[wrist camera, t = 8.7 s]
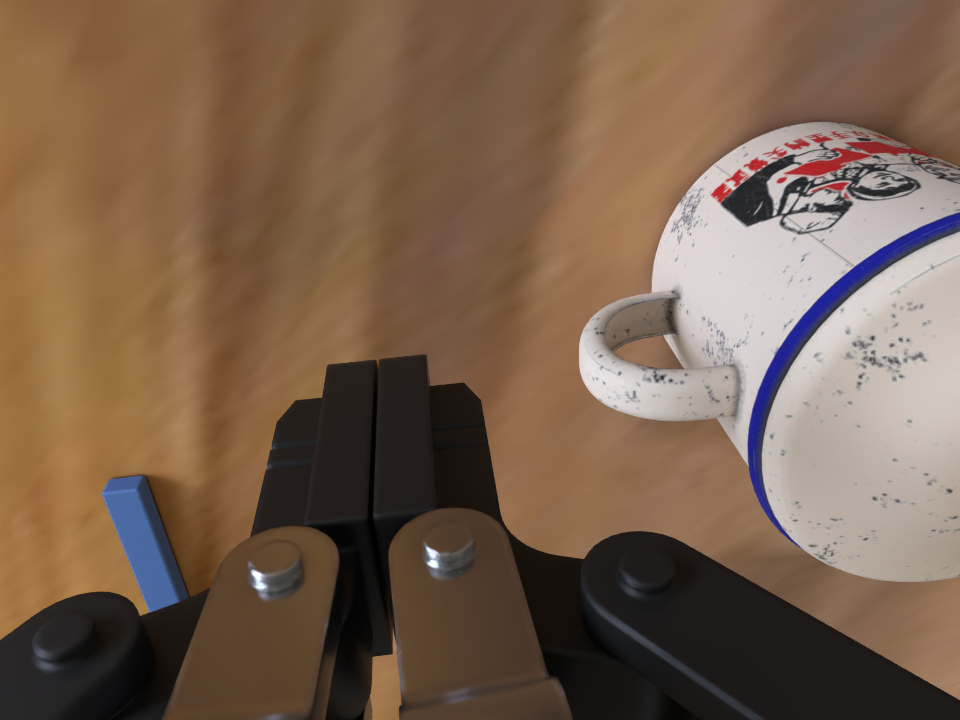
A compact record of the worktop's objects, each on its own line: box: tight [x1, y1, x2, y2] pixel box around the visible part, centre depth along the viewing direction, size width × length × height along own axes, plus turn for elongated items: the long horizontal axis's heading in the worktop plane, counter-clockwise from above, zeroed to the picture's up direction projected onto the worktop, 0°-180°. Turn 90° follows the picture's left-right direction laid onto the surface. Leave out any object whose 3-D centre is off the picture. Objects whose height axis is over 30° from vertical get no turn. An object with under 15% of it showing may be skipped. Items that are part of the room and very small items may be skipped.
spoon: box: [102, 476, 189, 612], centre depth 28 cm, size 14×4×1 cm, turn 4°
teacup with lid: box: [579, 122, 960, 582], centre depth 18 cm, size 12×9×12 cm
